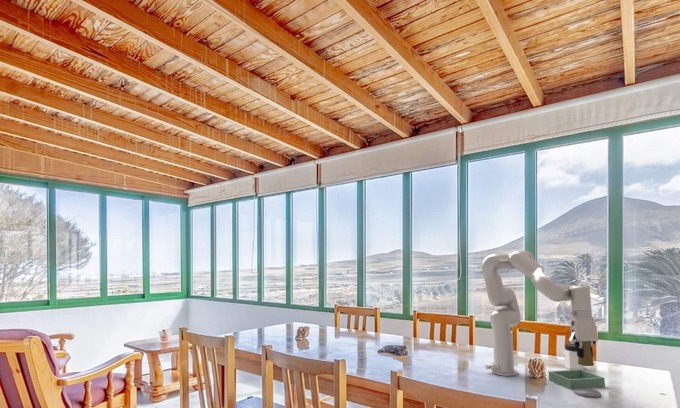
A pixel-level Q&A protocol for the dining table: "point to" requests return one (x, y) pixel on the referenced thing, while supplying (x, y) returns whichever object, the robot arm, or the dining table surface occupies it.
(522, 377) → the dining table surface
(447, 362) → the dining table surface
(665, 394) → the dining table surface
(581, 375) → the green tray
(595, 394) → the mat
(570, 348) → the jar
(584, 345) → the cork
